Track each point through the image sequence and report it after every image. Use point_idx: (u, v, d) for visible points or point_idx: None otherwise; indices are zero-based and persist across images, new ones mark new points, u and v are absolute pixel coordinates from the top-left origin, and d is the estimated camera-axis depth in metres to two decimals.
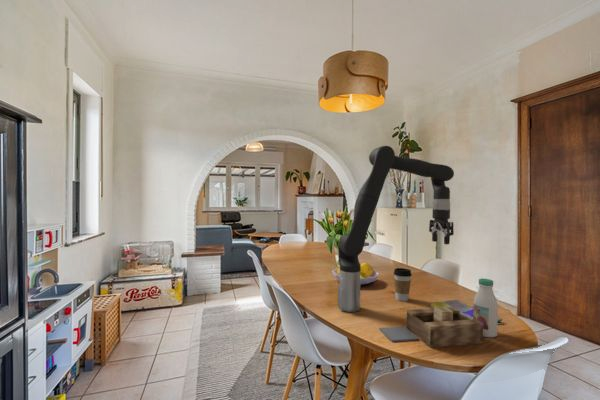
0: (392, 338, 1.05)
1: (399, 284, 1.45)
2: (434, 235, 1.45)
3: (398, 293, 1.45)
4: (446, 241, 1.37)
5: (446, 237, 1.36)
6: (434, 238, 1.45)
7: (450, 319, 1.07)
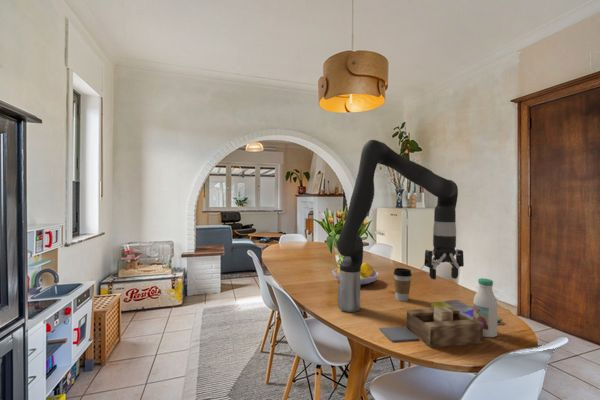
0: (392, 338, 1.05)
1: (399, 284, 1.45)
2: None
3: (398, 293, 1.45)
4: (457, 274, 1.09)
5: (457, 269, 1.09)
6: None
7: (450, 319, 1.07)
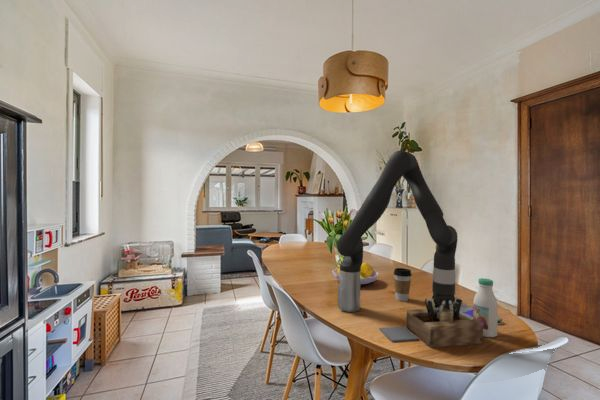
0: (392, 338, 1.05)
1: (399, 284, 1.45)
2: None
3: (398, 293, 1.45)
4: None
5: None
6: None
7: (450, 319, 1.07)
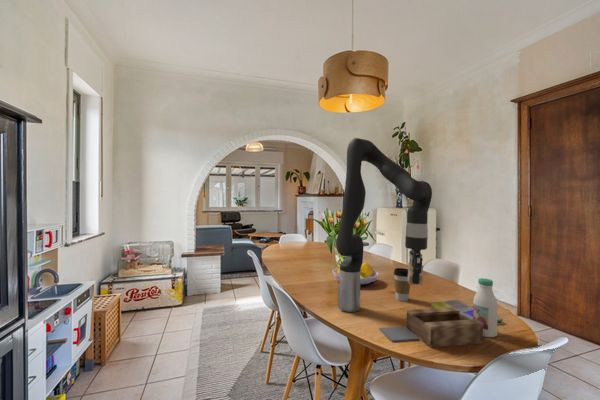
0: (392, 338, 1.05)
1: (399, 284, 1.45)
2: None
3: (398, 293, 1.45)
4: None
5: None
6: None
7: None
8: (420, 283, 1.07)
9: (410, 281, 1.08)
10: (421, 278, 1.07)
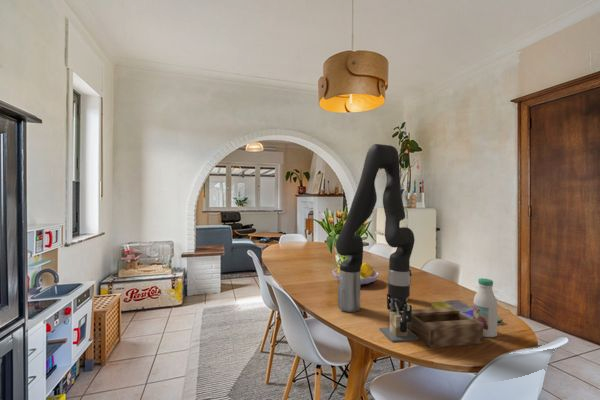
0: (392, 338, 1.05)
1: None
2: None
3: None
4: None
5: None
6: None
7: None
8: (405, 333, 1.07)
9: (396, 333, 1.07)
10: None
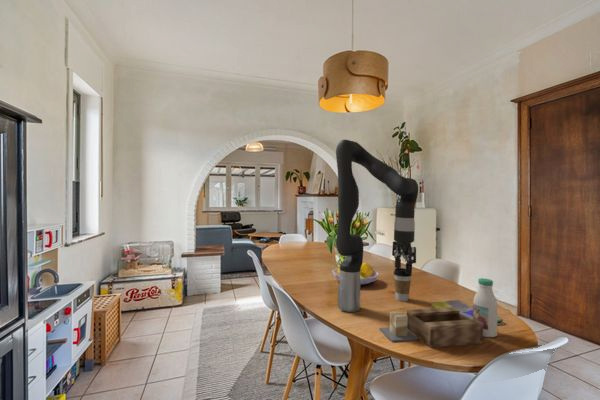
0: (392, 338, 1.05)
1: (399, 284, 1.45)
2: None
3: (398, 293, 1.45)
4: None
5: None
6: None
7: None
8: (405, 333, 1.07)
9: (396, 333, 1.07)
10: (406, 328, 1.07)
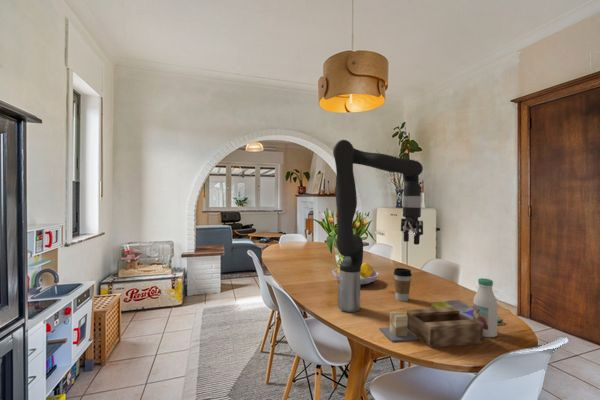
0: (392, 338, 1.05)
1: (399, 284, 1.45)
2: None
3: (398, 293, 1.45)
4: None
5: None
6: None
7: None
8: (405, 333, 1.07)
9: (396, 333, 1.07)
10: (406, 328, 1.07)
